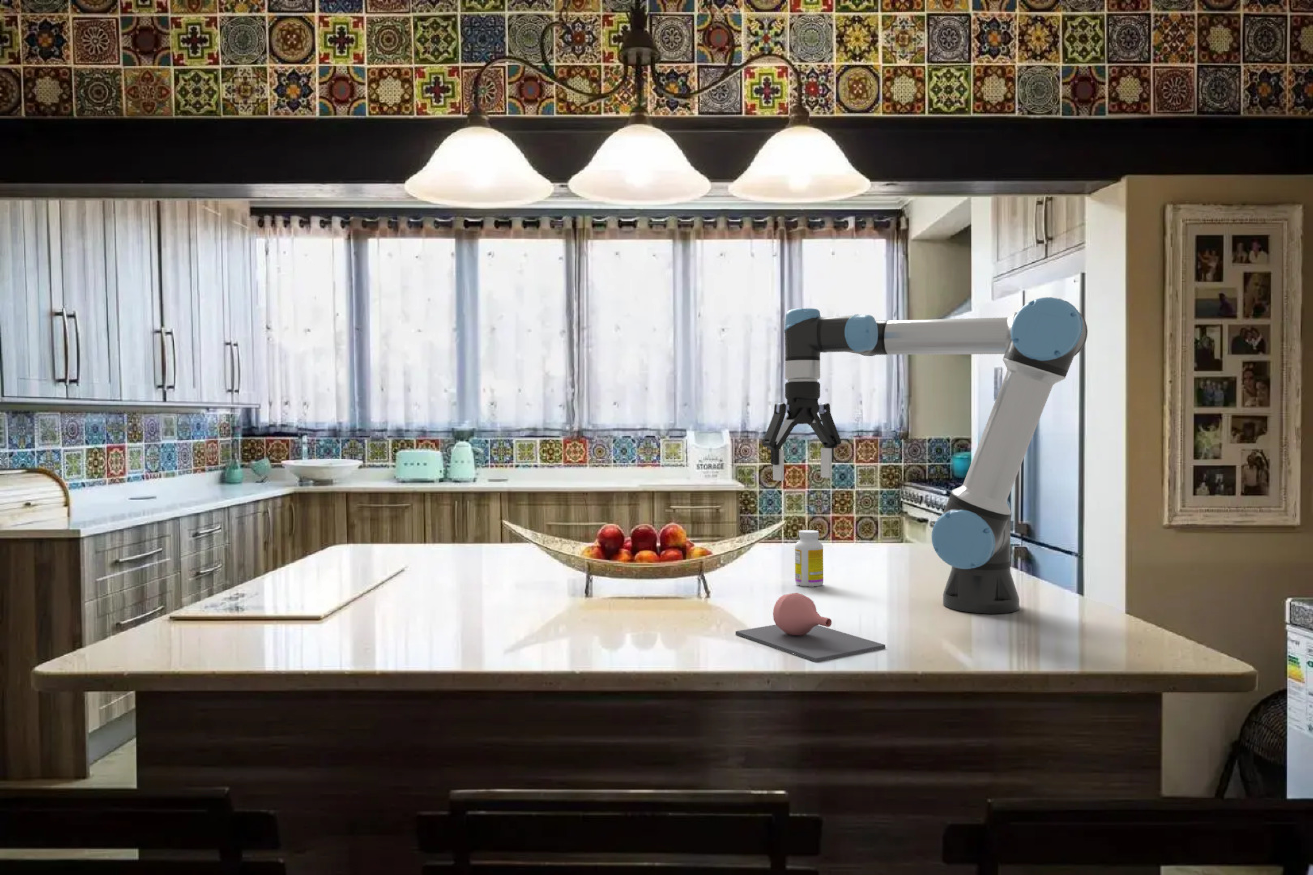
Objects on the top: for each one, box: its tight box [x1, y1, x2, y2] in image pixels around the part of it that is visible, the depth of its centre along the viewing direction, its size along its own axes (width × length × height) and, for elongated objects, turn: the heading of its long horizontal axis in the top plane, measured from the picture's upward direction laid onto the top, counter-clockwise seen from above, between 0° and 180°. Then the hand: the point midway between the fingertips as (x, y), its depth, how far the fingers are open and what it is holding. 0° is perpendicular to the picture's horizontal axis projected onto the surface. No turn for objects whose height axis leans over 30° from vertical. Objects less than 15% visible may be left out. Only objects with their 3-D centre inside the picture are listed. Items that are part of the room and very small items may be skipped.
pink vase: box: [772, 592, 833, 635], centre depth 161 cm, size 8×8×12 cm
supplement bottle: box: [794, 529, 824, 588], centre depth 213 cm, size 7×7×13 cm
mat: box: [735, 624, 886, 663], centre depth 161 cm, size 16×22×1 cm
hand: (802, 479), depth 194 cm, fingers open, 13 cm apart
